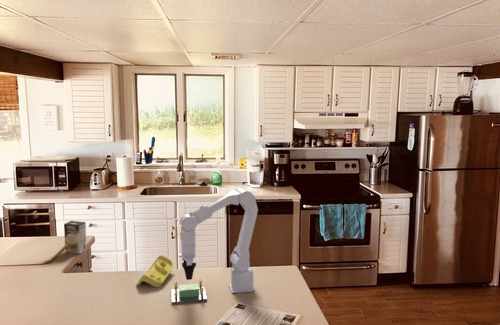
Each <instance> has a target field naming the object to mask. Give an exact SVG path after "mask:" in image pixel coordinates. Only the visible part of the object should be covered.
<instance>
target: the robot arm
mask: <svg viewBox="0 0 500 325" xmlns="http://www.w3.org/2000/svg"><path fill="white" fill-rule="evenodd" d="M239 204H240V205H241V207H242V208H243V209H244V214H243V219H242V221H241V222H242V223H241V227H240V232H239V234H238V240H237V243H236V244H237V245H236V246H235V247H234V249H233V251H232V253H231V254H230V256H229V260H230V263H231V264H232V266H231V272H230V274H231V276H230V278H231V283H229V285H228V286H229V289H230V292H231V293H232V294H236V293H237V294H241V293H248V292H249V293H251V292H254V270H253V268H252V267H250V265H251V262H250V258H251V257H250V256H251V255H250V245H251V241H252V236H253V233H254V228H255V224H256V220H257V216H258V212H259V209H258V205H257V202H256V197H255V195H254V194H253V193H252V192H251V191H249V190H247V189H246V188H244V187H241V186H240V187H236V188H235V189H233V190H231V191H229V192H228V193H227V194H225V195H223V196H222V197H220V198H219V199H217V200H216V201H214V202H212V203H211V204H204V205H203V204H200V205H199V207H198V208H197V209H194V210H192V211H189V213H184V214H183V215H182V216H181V217H180V219H179V224H180V226H181V227H180V228H181V230H180V240H181V241H180V242H181V243H180V244H181V247H180V248H181V250H180V251H181V253H178V257H179V258H181V259H182V260H183V262H182V263H181V266H182V268H183V270H184V274H185V279H186V281H188V280H192V279H193V275H194V271H195V268H196V266H197V262H194V259H195V258H196V256H197V252H196V228H197V226H198V225H199V224H201V223H203V222H205V221H206V220H208V219H211V218H212V217H213V214H214V213H215V212H217V211H219V210H221V209H223V208H224V207H227V206H229V205H235V206H239Z"/></svg>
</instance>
